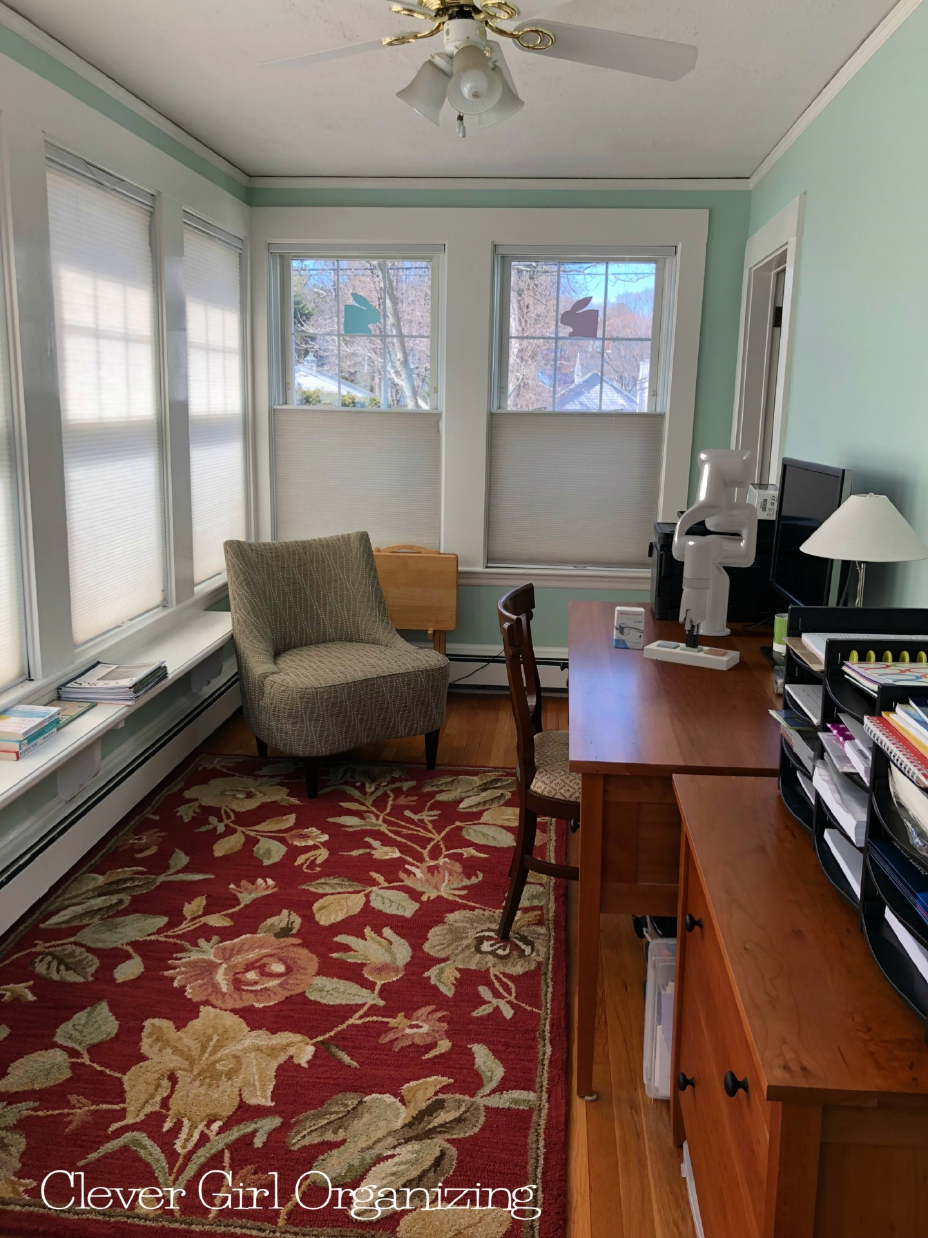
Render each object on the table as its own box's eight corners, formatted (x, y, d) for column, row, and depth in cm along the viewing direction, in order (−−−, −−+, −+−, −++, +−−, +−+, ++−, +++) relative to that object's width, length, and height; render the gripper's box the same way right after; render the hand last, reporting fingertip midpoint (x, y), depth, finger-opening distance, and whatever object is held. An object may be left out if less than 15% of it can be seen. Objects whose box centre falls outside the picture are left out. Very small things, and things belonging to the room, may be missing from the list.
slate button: (662, 650, 284) (663, 641, 283) (679, 652, 281) (679, 643, 280) (656, 653, 279) (656, 644, 279) (672, 655, 277) (673, 646, 276)
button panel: (658, 649, 288) (659, 640, 287) (738, 662, 275) (739, 651, 275) (643, 657, 278) (643, 647, 277) (725, 670, 265) (726, 659, 265)
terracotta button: (709, 657, 276) (710, 648, 276) (726, 660, 274) (727, 650, 273) (703, 660, 272) (704, 651, 272) (720, 663, 270) (721, 653, 269)
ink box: (613, 648, 289) (616, 609, 287) (612, 644, 294) (615, 606, 292) (643, 649, 288) (645, 610, 286) (641, 645, 293) (644, 607, 291)
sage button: (685, 653, 280) (686, 644, 279) (702, 656, 277) (703, 646, 277) (679, 656, 276) (680, 647, 275) (696, 659, 273) (697, 649, 273)
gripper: (692, 579, 280) (688, 641, 284) (674, 585, 268) (669, 649, 272) (718, 581, 277) (713, 644, 280) (700, 588, 264) (695, 653, 268)
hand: (691, 647), depth 276 cm, fingers closed
